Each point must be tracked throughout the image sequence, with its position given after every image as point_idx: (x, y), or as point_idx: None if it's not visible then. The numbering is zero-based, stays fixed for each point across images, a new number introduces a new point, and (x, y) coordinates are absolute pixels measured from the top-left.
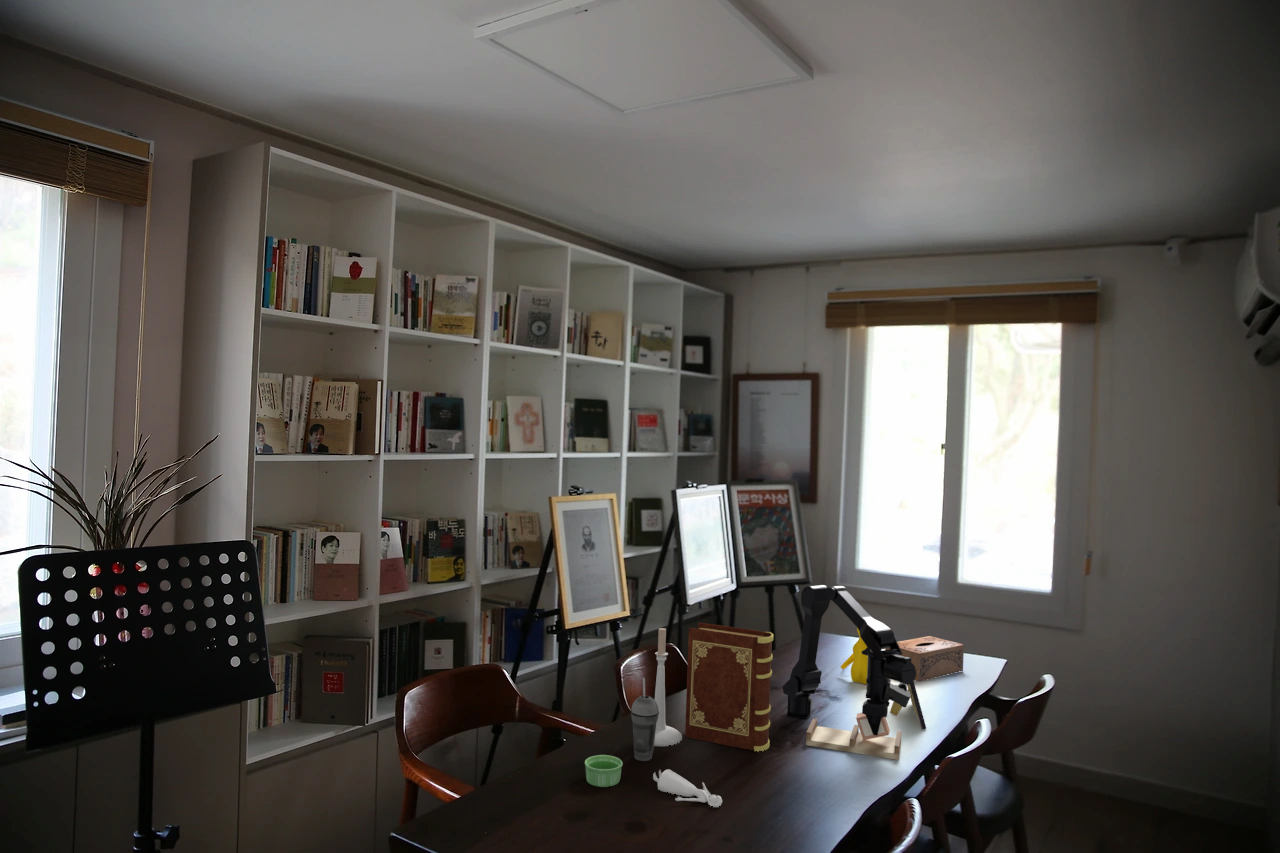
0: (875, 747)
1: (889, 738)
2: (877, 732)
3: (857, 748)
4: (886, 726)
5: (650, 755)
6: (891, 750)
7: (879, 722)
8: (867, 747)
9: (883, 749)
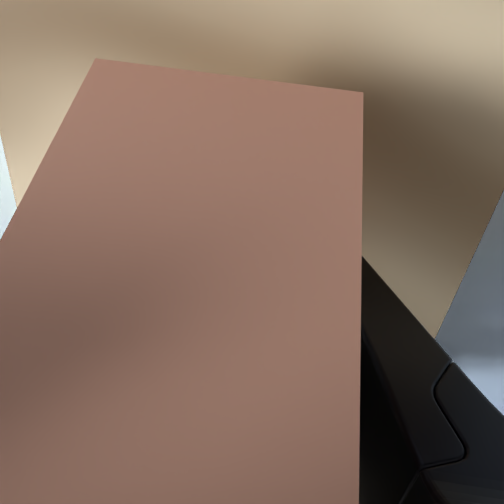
0: (400, 195)
1: (21, 8)
2: (373, 274)
3: (433, 333)
4: (312, 195)
5: None
6: (477, 7)
7: (486, 414)
8: (414, 266)
9: (451, 113)
